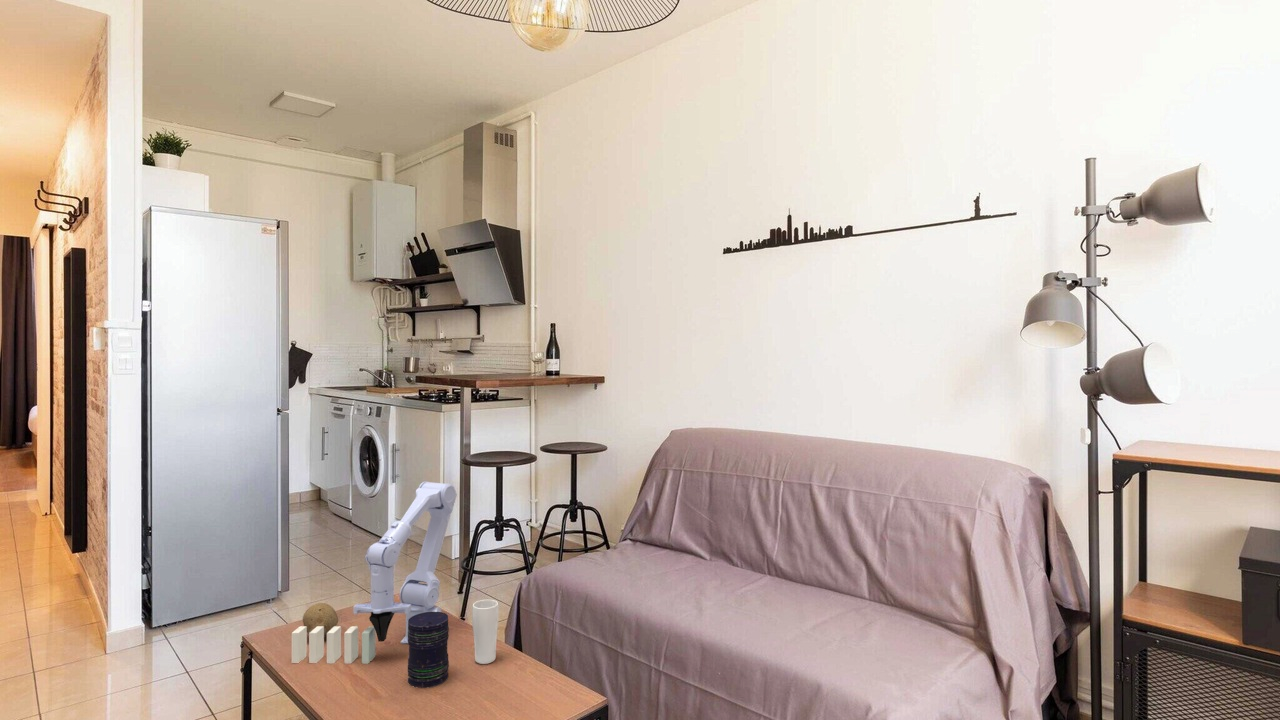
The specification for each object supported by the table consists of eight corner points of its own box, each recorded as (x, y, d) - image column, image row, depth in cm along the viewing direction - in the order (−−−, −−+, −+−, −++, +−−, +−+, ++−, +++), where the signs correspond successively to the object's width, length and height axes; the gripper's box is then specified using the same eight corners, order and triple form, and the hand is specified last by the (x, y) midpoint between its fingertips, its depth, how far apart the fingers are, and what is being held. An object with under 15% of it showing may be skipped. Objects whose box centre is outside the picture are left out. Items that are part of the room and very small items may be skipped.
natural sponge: (330, 629, 198) (330, 595, 198) (343, 638, 192) (343, 603, 192) (298, 638, 192) (298, 603, 192) (309, 648, 185) (309, 611, 185)
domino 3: (341, 656, 181) (341, 626, 181) (333, 663, 176) (333, 633, 176) (334, 656, 181) (334, 626, 181) (326, 663, 176) (326, 633, 176)
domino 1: (306, 656, 181) (306, 626, 181) (298, 663, 176) (298, 633, 176) (299, 656, 181) (299, 626, 181) (291, 663, 176) (291, 633, 176)
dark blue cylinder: (406, 673, 171) (406, 614, 171) (446, 666, 175) (446, 609, 175) (409, 691, 162) (409, 629, 161) (451, 683, 165) (451, 623, 165)
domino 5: (375, 656, 181) (375, 626, 181) (368, 663, 176) (368, 633, 176) (368, 656, 181) (368, 626, 181) (361, 663, 176) (361, 633, 176)
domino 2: (323, 656, 181) (323, 626, 181) (316, 663, 176) (316, 633, 176) (317, 656, 181) (317, 626, 181) (309, 663, 176) (309, 633, 176)
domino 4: (358, 656, 181) (358, 626, 181) (351, 663, 176) (351, 633, 176) (351, 656, 181) (351, 626, 181) (344, 663, 176) (344, 633, 176)
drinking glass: (485, 668, 173) (485, 610, 173) (466, 662, 177) (466, 605, 177) (503, 658, 179) (503, 602, 179) (485, 652, 183) (485, 597, 183)
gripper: (348, 594, 174) (348, 646, 174) (404, 594, 174) (404, 646, 174) (359, 584, 181) (359, 635, 181) (413, 584, 181) (413, 635, 182)
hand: (382, 640), depth 178 cm, fingers closed
